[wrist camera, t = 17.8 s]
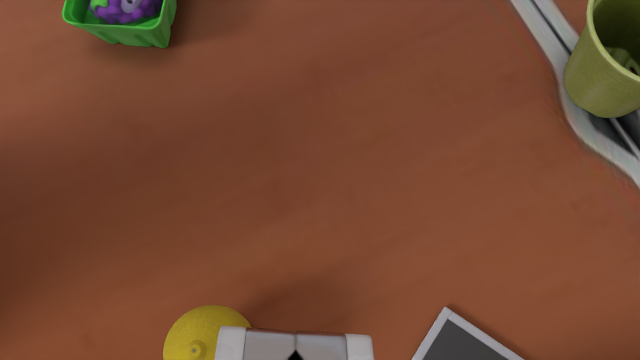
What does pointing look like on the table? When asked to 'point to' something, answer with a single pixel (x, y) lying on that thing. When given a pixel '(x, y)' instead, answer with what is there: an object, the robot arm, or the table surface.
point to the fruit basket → (124, 20)
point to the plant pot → (607, 60)
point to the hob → (459, 341)
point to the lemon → (199, 332)
